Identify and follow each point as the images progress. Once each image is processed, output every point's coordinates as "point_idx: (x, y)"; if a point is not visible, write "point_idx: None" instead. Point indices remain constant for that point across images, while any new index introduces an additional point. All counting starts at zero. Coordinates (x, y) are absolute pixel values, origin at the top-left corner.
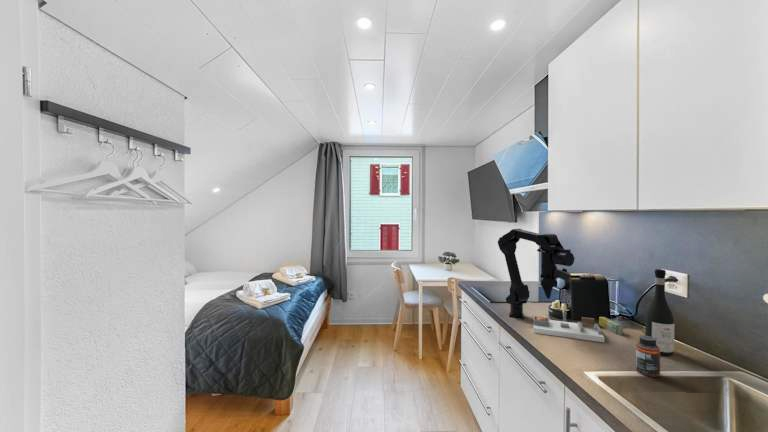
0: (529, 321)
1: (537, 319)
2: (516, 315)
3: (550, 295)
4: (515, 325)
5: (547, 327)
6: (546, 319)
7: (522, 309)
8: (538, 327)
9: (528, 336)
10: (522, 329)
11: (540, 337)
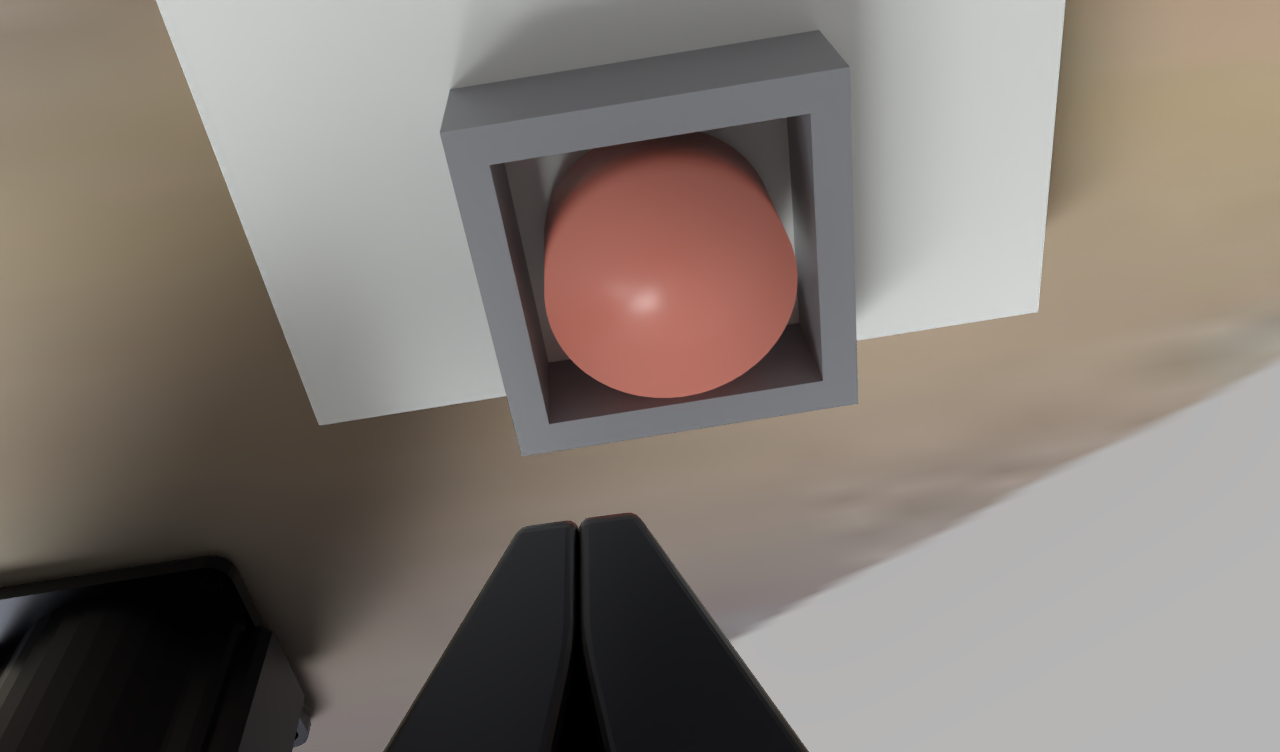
0: (333, 436)
1: (758, 350)
2: (285, 674)
3: (722, 636)
4: (729, 568)
5: (884, 66)
6: (495, 165)
7: (80, 703)
8: (969, 241)
9: (1231, 310)
10: (891, 449)
11: (1231, 120)
